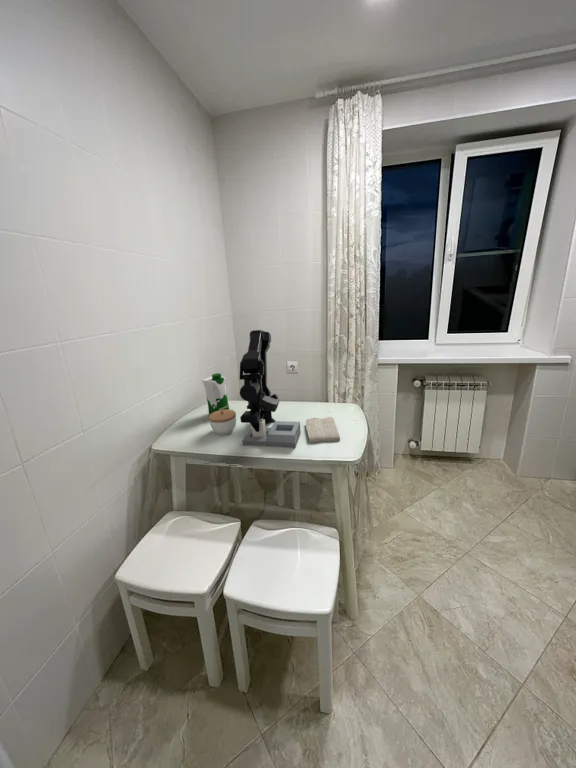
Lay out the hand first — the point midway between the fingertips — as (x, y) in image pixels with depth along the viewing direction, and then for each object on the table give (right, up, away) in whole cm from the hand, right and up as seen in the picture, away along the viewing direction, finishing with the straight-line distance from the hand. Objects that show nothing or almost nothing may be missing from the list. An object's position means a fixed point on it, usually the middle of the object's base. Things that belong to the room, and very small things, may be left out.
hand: (259, 429), depth 112 cm
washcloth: (+24, -2, +4) cm, 25 cm away
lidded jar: (-15, -3, +9) cm, 18 cm away
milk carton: (-21, +3, +27) cm, 34 cm away
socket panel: (+5, -4, 0) cm, 6 cm away
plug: (0, -3, +1) cm, 3 cm away
